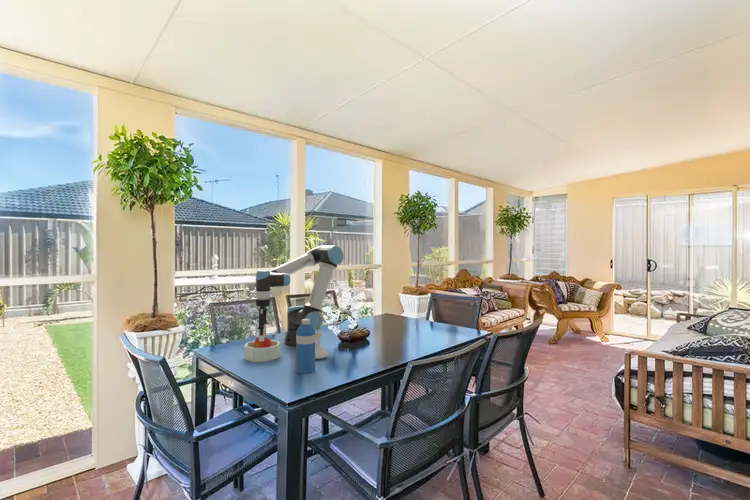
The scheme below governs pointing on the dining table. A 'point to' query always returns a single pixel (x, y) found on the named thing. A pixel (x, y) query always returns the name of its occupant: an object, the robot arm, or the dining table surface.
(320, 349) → the flower in vase
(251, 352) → the white faceted bowl
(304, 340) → the water bottle
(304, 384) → the dining table surface
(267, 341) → the apple
